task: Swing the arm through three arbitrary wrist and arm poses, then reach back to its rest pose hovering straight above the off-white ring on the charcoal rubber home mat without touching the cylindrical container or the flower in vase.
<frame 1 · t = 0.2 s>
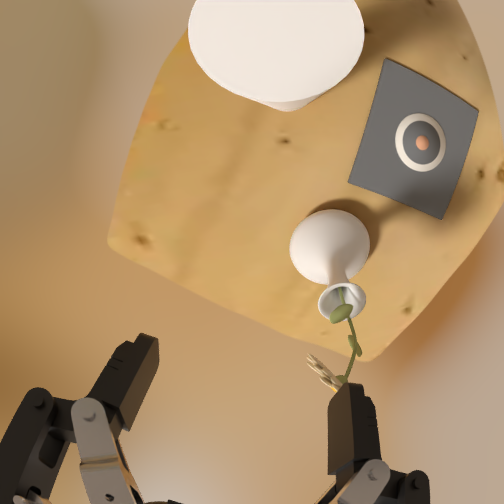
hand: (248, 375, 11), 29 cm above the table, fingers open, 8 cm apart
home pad: (419, 141, 30), on the table
flower in vase: (329, 247, 40), on the table
cylindrical container: (286, 84, 30), on the table
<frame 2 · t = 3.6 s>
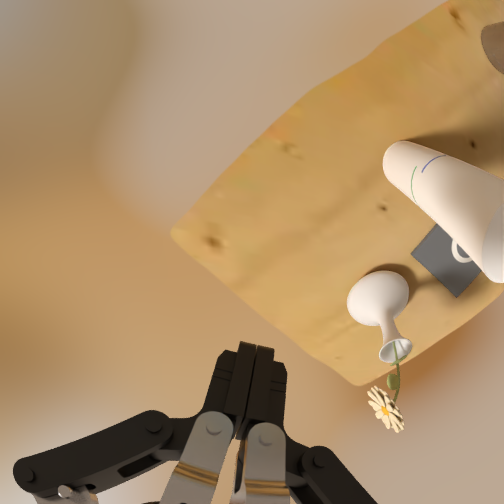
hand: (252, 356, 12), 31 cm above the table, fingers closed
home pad: (467, 240, 38), on the table
flower in vase: (375, 296, 46), on the table
cylindrical container: (404, 164, 35), on the table
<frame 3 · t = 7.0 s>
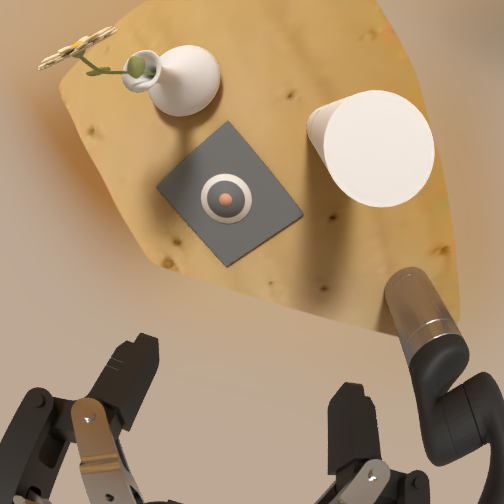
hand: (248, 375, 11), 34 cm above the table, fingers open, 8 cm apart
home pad: (227, 197, 43), on the table
flower in vase: (182, 80, 36), on the table
cylindrical container: (331, 129, 36), on the table
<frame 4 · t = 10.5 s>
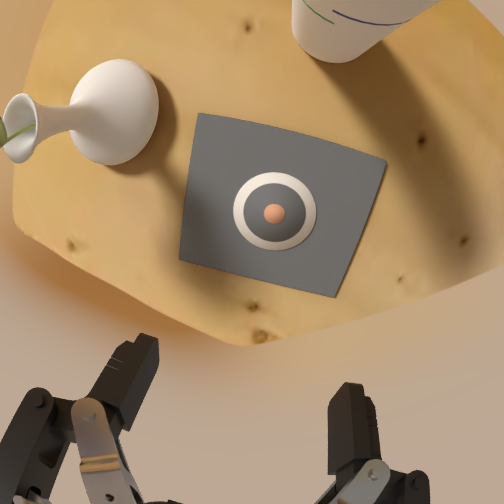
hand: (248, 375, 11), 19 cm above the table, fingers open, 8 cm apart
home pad: (274, 210, 28), on the table
flower in vase: (113, 114, 25), on the table
cylindrical container: (330, 30, 18), on the table
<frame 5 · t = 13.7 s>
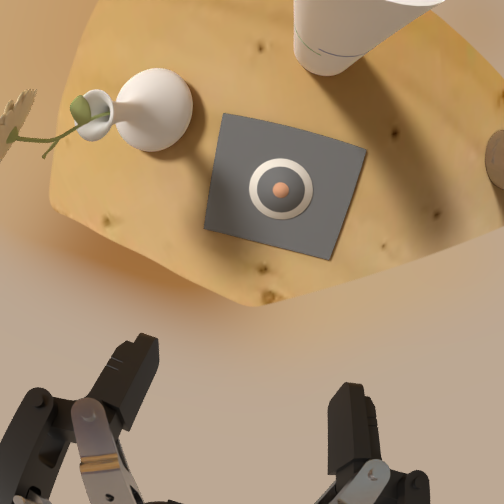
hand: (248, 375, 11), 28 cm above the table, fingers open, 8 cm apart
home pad: (281, 188, 35), on the table
flower in vase: (152, 111, 32), on the table
cylindrical container: (323, 50, 26), on the table
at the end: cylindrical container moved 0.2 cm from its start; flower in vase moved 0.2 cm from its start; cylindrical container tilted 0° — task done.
